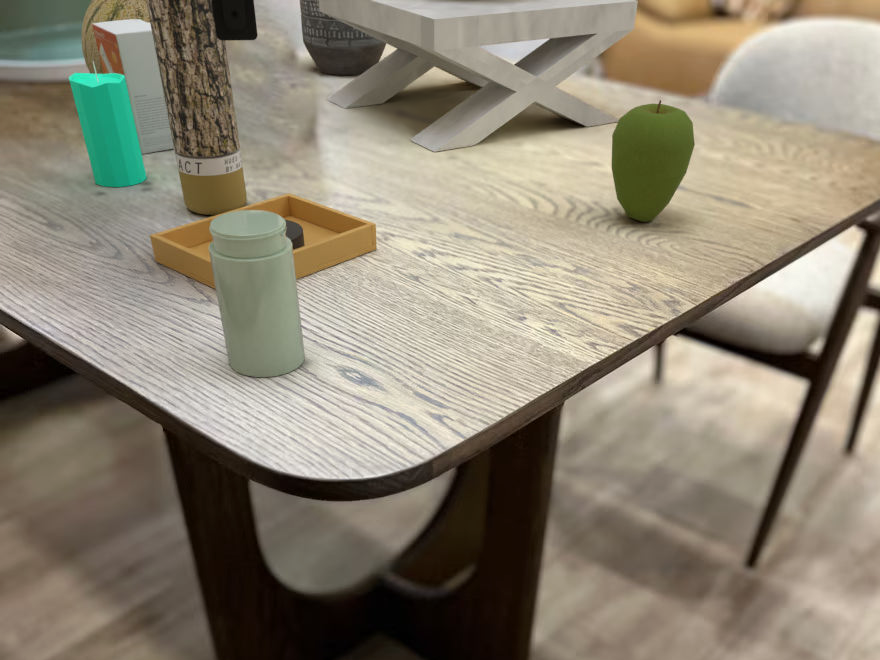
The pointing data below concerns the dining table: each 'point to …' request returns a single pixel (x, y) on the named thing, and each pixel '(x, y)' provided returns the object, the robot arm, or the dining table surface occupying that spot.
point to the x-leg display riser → (483, 56)
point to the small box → (137, 77)
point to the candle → (108, 128)
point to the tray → (323, 227)
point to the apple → (650, 158)
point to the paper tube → (199, 104)
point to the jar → (257, 292)
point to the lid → (295, 234)
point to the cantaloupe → (107, 5)
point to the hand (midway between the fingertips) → (236, 28)
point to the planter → (337, 43)
